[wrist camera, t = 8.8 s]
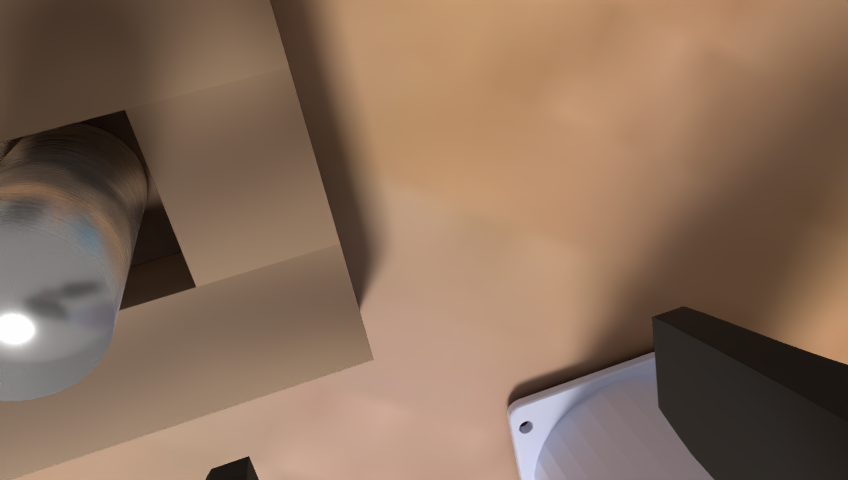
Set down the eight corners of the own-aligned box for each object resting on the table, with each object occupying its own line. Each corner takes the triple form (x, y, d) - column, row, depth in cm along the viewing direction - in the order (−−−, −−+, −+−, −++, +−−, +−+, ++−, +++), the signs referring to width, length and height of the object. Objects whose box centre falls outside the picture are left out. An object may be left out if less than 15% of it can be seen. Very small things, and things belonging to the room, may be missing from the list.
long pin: (164, 230, 19) (140, 371, 13) (33, 261, 19) (-55, 423, 13) (123, 109, 18) (74, 204, 12) (-21, 138, 17) (-151, 255, 11)
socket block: (357, 316, 22) (373, 359, 20) (-48, 446, 20) (-80, 509, 18) (234, -107, 17) (237, -112, 15) (-328, 18, 15) (-422, 35, 13)
